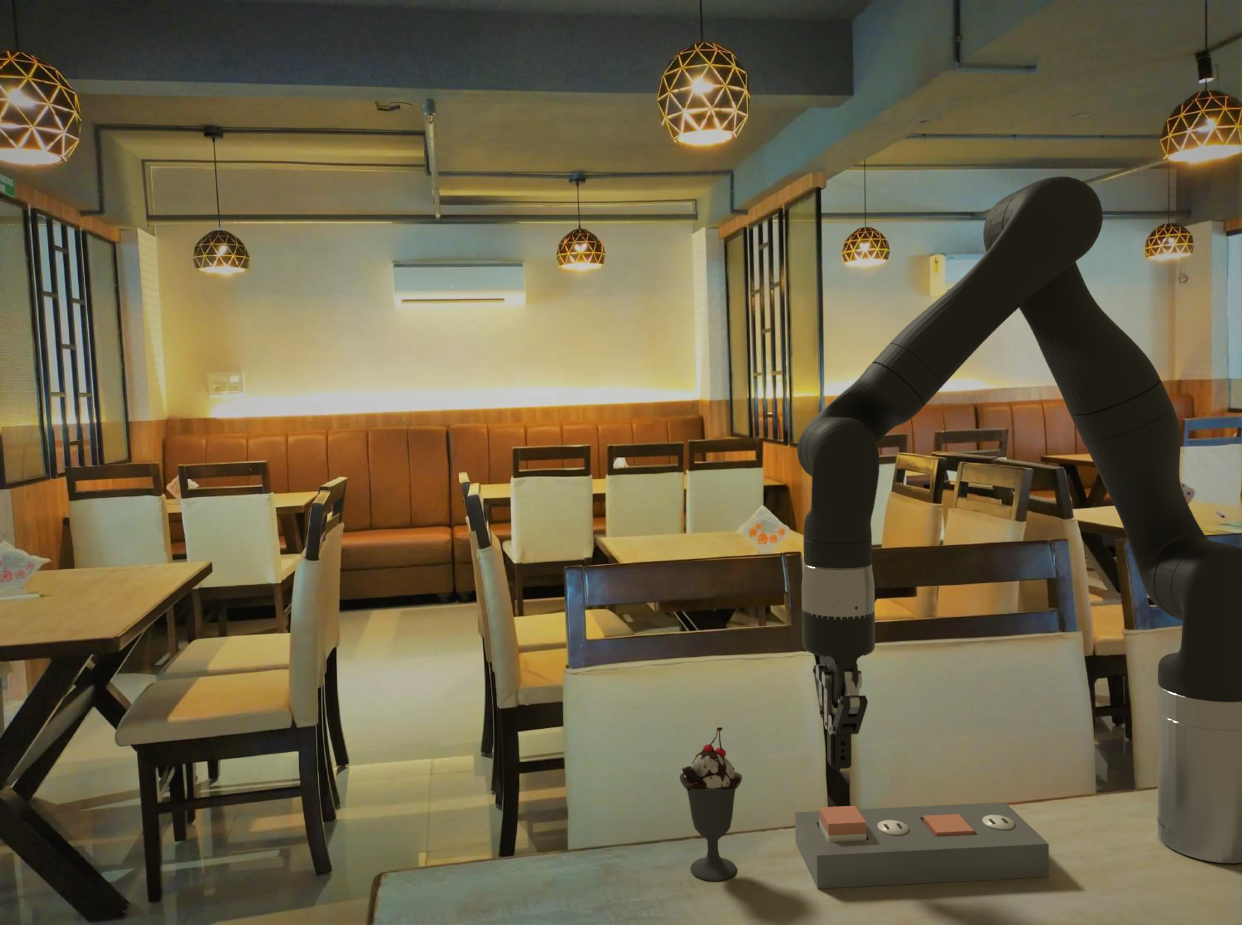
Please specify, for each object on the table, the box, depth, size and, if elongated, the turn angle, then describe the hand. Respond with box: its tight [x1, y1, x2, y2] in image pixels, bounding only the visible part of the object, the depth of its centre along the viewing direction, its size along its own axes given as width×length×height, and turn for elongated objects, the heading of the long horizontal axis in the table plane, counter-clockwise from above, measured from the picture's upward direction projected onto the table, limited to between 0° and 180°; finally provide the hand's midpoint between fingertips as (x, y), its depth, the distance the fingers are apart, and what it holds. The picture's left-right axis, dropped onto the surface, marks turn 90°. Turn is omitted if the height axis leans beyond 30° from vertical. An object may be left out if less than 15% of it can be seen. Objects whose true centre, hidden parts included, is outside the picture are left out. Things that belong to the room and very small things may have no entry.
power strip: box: [794, 801, 1050, 890], centre depth 99 cm, size 24×10×4 cm, turn 92°
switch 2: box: [923, 814, 974, 837], centre depth 99 cm, size 4×4×2 cm
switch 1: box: [818, 805, 866, 842], centre depth 99 cm, size 4×4×2 cm
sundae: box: [679, 726, 743, 882], centre depth 98 cm, size 7×7×15 cm
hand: (839, 765), depth 98 cm, fingers closed
